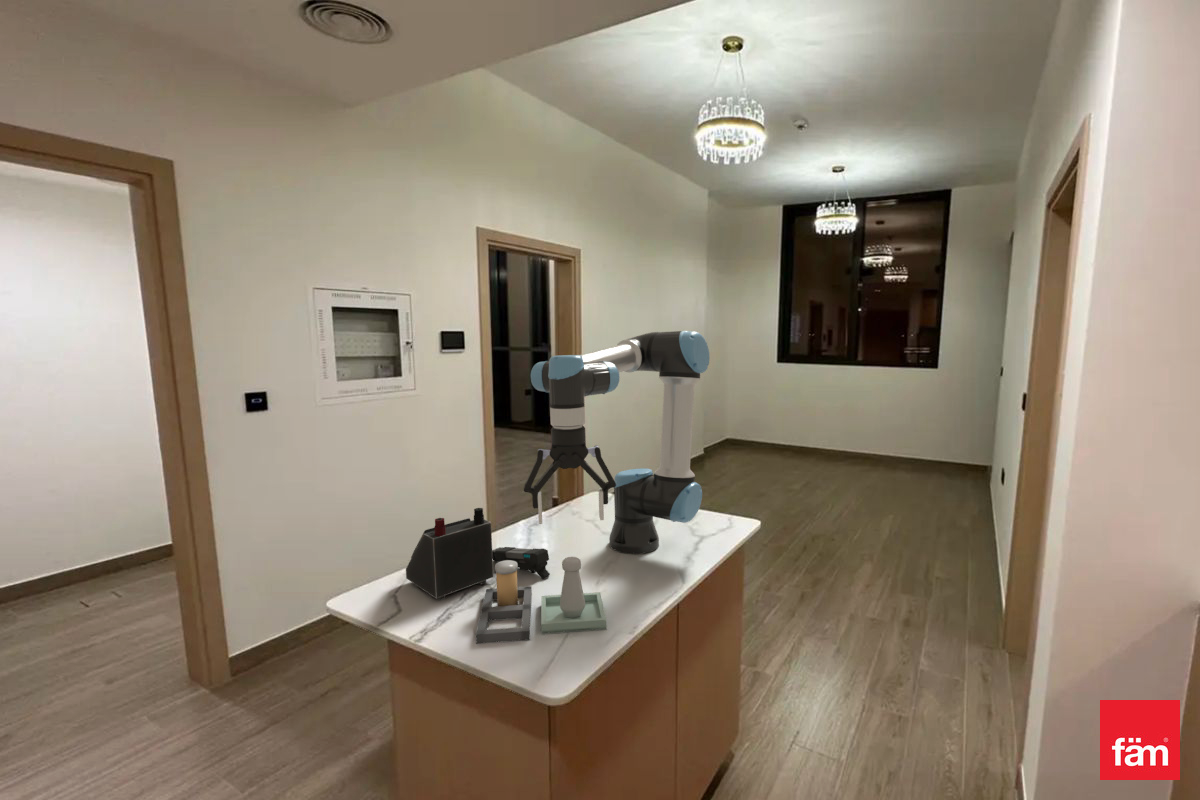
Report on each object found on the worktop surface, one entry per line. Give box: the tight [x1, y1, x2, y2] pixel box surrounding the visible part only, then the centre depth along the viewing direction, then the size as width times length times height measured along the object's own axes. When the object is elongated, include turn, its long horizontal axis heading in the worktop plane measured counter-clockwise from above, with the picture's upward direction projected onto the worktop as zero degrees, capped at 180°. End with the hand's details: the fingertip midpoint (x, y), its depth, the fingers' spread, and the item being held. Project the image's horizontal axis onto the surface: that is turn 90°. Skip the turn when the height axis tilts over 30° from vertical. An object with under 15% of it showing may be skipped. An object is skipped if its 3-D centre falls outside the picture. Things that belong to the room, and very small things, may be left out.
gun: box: [492, 546, 550, 580], centre depth 149 cm, size 4×20×10 cm, turn 51°
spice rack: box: [475, 560, 533, 645], centre depth 122 cm, size 11×21×10 cm, turn 6°
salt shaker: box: [560, 556, 585, 618], centre depth 122 cm, size 6×6×13 cm
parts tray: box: [540, 591, 608, 635], centre depth 122 cm, size 14×13×2 cm
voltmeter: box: [405, 507, 494, 601], centre depth 140 cm, size 16×16×20 cm
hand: (571, 520), depth 120 cm, fingers open, 13 cm apart
